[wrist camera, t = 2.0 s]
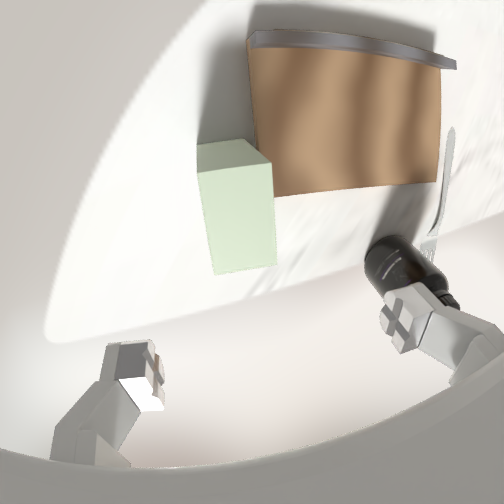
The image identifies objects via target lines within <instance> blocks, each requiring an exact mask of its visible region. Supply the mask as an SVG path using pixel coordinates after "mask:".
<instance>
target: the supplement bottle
mask: <svg viewBox="0 0 504 504" xmlns="http://www.w3.org/2000/svg"><path fill="white" fill-rule="evenodd" d="M364 268H365V274H366V276H367V278H368V280H369V281H370V282H371V284H372V285H373V286H374V288H375V289H376V290H377V292H378V293H379V294H380V295H381V297H382V298H383V299H384V295H385V294H386V292H388V291H391V290H394V289H398V288H401V287H405V286H408V285H411V284H414V283H417V282H420V283H423V284H424V285H425V286H426V287H427V288H428V289H429V290H430V291H431V292H432V294H433V295H434V296H435V297H436V298H437V299H438V300H439V301H440V302H441V303H442V304H443V305H444V306H445V307H446V306H450V307H452V308H455V309H457V310H460V305H459V304H458V303H457V302H456V300H455V299H454V298H453V296H452V295H451V294H450V293H449V292H448V290H449V288H448V287H449V286H448V281H447V278H446V277H445V275H444V274H443V273H442V272H441V271H440V270H439V269H438V268H437V267H436V266H434V264H433V263H432V262H430V261H429V260H428V259H427V258H426V257H425V256H424V255H423V254H422V253H421V252H420V251H418V250H417V249H416V248H415V247H414V246H413V245H412V244H411V243H410V242H408V241H407V240H406V239H405V238H403V237H401V236H395V235H394V236H388V237H385V238H383V239H382V240H380V241H379V242H377V243H376V244H375V245H374V246H373V247H372V249H371V250H370V251H369V253H368V255H367V257H366V260H365V266H364Z"/></svg>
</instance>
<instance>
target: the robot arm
mask: <svg viewBox="0 0 504 504" xmlns="http://www.w3.org/2000/svg"><path fill="white" fill-rule="evenodd" d="M384 302H385V306H384V307H383V308H382V310H381V313H380V323H381V326H382V329H383V330H384V332H385V333H386V334H388V335H390V336H392V343H393V345H394V346H395V348H396V349H397V351H398V352H399V353H400V354H402V353H405V352H408V351H410V350H413V349H416V348H418V349H419V350H421V351H423V352H424V353H426V354H427V355H429V356H431V357H433V358H434V359H436V360H437V361H439V362H441V363H442V364H444V365H446V366H447V367H449V368H450V369H452V370H454V373H453V375H452V376H451V378H450V380H449V384H450V385H451V387H449V388H447V389H445V390H443V391H441V392H440V393H438V394H436V395H434V396H432V397H430V398H428V399H426V400H425V401H423V402H420V403H418V404H416V405H414V406H412V407H410V408H408V409H406V410H404V411H402V412H399V413H397V414H395V415H393V416H390V417H388V418H386V419H383V420H381V421H378V422H376V423H373V424H371V425H368V426H366V427H363V428H360V429H358V430H355V431H352V432H349V433H347V434H344V435H340V436H337V437H334V438H331V439H328V440H325V441H321V442H318V443H315V444H311V445H307V446H304V447H300V448H297V449H292V450H288V451H284V452H279V453H275V454H271V455H265V456H260V457H255V458H250V459H244V460H238V461H231V462H224V463H217V464H207V465H197V466H185V467H167V468H166V467H165V468H131V463H130V462H129V461H128V460H127V459H126V458H125V457H123V456H122V455H121V454H120V453H119V452H117V451H118V450H119V448H120V446H121V445H122V443H123V441H124V440H125V438H126V436H127V434H128V433H129V431H130V430H131V428H132V427H133V425H134V423H135V421H136V420H137V418H138V417H139V415H140V413H141V412H140V411H149V410H158V409H164V391H163V390H162V388H161V386H162V384H163V383H164V369H163V364H162V361H161V359H160V357H159V355H157V354H155V346H154V344H153V342H152V340H150V339H148V340H138V341H126V342H117V343H109V344H108V345H107V346H106V350H105V355H104V359H103V364H102V369H101V374H100V379H99V381H96V382H95V383H94V384H93V385H92V386H91V387H90V388H89V389H88V390H87V391H86V392H85V393H84V395H83V396H82V397H81V398H80V399H79V400H78V401H77V403H75V405H74V406H73V407H72V408H71V409H70V410H69V412H68V413H67V414H66V415H65V416H64V417H63V418H62V419H61V420H60V422H59V423H58V424H57V425H56V426H55V431H54V436H53V442H52V448H51V454H50V460H48V459H43V458H38V457H33V456H29V455H24V454H20V453H16V452H12V451H8V450H5V449H1V448H0V504H504V334H503V333H502V332H501V331H500V329H499V328H498V327H497V326H496V325H495V324H492V323H490V322H487V321H485V320H482V319H480V318H477V317H475V316H472V315H470V314H467V313H465V312H462V311H460V310H457V309H455V308H452V307H450V306H446V307H445V306H444V305H443V304H442V303H441V302H440V301H439V300H438V299H437V298H436V297H435V296H434V295H433V294H432V292H431V291H430V290H429V289H428V288H427V287H426V286H425V285H424V284H423V283H420V282H417V283H414V284H411V285H408V286H405V287H401V288H398V289H394V290H391V291H388V292H386V294H385V295H384Z"/></svg>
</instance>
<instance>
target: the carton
mask: <svg viewBox="0 0 504 504" xmlns="http://www.w3.org/2000/svg"><path fill="white" fill-rule="evenodd" d="M197 177H198V183H199V190H200V196H201V202H202V208H203V214H204V220H205V226H206V232H207V238H208V244H209V249H210V255H211V260H212V266H213V271H214V275H220V274H226V273H232V272H238V271H244V270H250V269H255V268H261V267H267V266H273V265H277V247H276V228H275V210H274V194H273V178H272V163H271V162H270V161H269V160H268V159H267V158H265V157H264V156H263V155H262V154H261V153H260V152H259V151H257V150H256V149H255V148H254V147H253V146H252V145H251V144H249V143H248V142H247V141H246V140H245V139H244V138H242V139H234V140H226V141H219V142H212V143H205V144H198V145H197Z"/></svg>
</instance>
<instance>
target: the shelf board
mask: <svg viewBox="0 0 504 504" xmlns="http://www.w3.org/2000/svg"><path fill="white" fill-rule="evenodd" d="M246 45H247V55H248V66H249V76H250V87H251V98H252V109H253V120H254V132H255V143H256V150H257V151H259V152H260V153H261V154H262V155H263V156H264V157H265V158H267V159H268V160H269V161H270V162H271V163H272V178H273V194H274V197H282V196H290V195H298V194H306V193H315V192H324V191H333V190H342V189H352V188H363V187H374V186H386V185H399V184H413V183H428V182H436V178H437V169H438V159H439V147H440V129H441V73H440V69H454V70H457V67H456V60H453V59H450V58H447V57H444V56H443V55H440V54H437V53H434V52H430V51H427V50H423V49H420V48H416V47H412V46H408V45H404V44H399V43H395V42H390V41H385V40H380V39H375V38H369V37H363V36H357V35H350V34H342V33H333V32H322V31H308V30H281V29H274V30H273V31H255V32H254V33H253V34H252V35H251V36H250V37H249V38H248V39H247V40H246Z"/></svg>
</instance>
